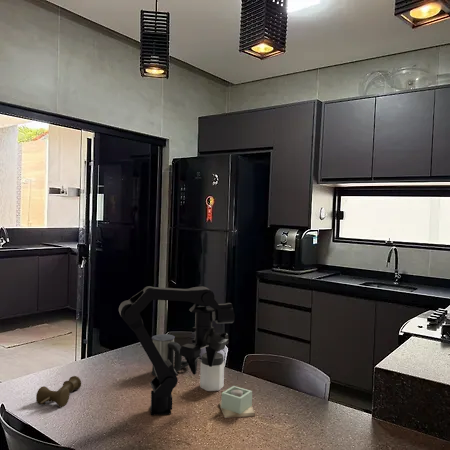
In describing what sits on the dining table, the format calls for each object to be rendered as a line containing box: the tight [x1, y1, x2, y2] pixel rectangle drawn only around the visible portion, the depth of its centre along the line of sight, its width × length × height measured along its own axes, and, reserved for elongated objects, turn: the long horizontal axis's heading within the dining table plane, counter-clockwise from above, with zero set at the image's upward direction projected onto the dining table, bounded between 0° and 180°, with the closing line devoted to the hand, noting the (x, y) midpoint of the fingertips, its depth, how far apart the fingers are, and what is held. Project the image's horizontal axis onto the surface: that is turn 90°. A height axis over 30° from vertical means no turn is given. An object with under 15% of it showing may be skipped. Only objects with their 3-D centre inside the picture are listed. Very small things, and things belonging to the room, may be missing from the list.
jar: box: [199, 352, 225, 392], centre depth 162 cm, size 9×8×12 cm
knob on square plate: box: [218, 390, 256, 419], centre depth 143 cm, size 10×10×6 cm
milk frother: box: [151, 333, 189, 377], centre depth 177 cm, size 14×16×15 cm
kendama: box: [35, 375, 82, 408], centre depth 148 cm, size 6×10×20 cm
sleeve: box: [220, 385, 253, 414], centre depth 143 cm, size 7×7×5 cm
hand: (202, 370), depth 146 cm, fingers open, 9 cm apart
